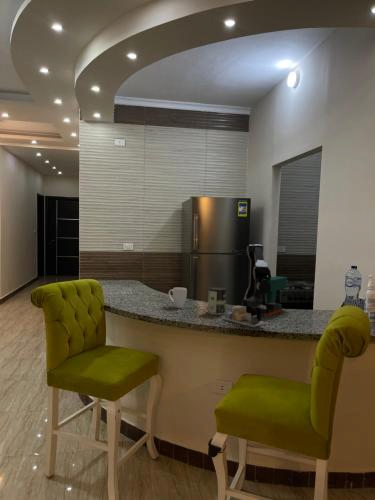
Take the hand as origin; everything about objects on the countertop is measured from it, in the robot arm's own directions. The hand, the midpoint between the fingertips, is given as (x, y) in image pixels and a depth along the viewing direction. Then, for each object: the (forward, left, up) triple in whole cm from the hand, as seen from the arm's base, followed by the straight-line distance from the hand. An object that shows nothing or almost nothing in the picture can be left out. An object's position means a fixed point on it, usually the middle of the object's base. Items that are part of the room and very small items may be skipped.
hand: (259, 321), depth 184 cm
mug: (+4, -57, -2) cm, 57 cm away
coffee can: (-4, -32, -2) cm, 32 cm away
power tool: (-39, -15, -2) cm, 42 cm away
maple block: (0, -13, -1) cm, 14 cm away
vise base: (0, -10, -2) cm, 10 cm away
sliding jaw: (0, -6, -1) cm, 7 cm away
